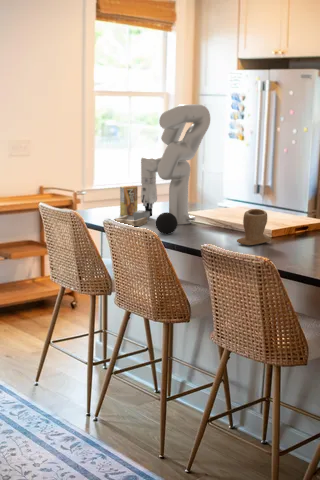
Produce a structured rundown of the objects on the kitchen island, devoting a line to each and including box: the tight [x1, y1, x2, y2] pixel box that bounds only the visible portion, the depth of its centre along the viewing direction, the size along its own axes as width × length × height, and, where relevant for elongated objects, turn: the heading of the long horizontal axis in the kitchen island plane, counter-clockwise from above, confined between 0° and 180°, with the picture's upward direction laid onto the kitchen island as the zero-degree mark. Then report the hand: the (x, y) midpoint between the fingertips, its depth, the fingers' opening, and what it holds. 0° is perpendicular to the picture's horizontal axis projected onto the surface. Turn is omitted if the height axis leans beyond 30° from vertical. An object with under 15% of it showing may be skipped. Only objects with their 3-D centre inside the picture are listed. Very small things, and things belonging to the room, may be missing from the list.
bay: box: [113, 215, 148, 227], centre depth 355 cm, size 12×12×3 cm
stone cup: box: [236, 208, 272, 246], centre depth 305 cm, size 15×12×15 cm
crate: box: [132, 210, 151, 222], centre depth 366 cm, size 6×8×5 cm
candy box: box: [119, 185, 138, 217], centre depth 382 cm, size 9×4×15 cm, turn 129°
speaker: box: [155, 212, 178, 235], centre depth 328 cm, size 10×10×10 cm
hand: (148, 216), depth 373 cm, fingers closed
